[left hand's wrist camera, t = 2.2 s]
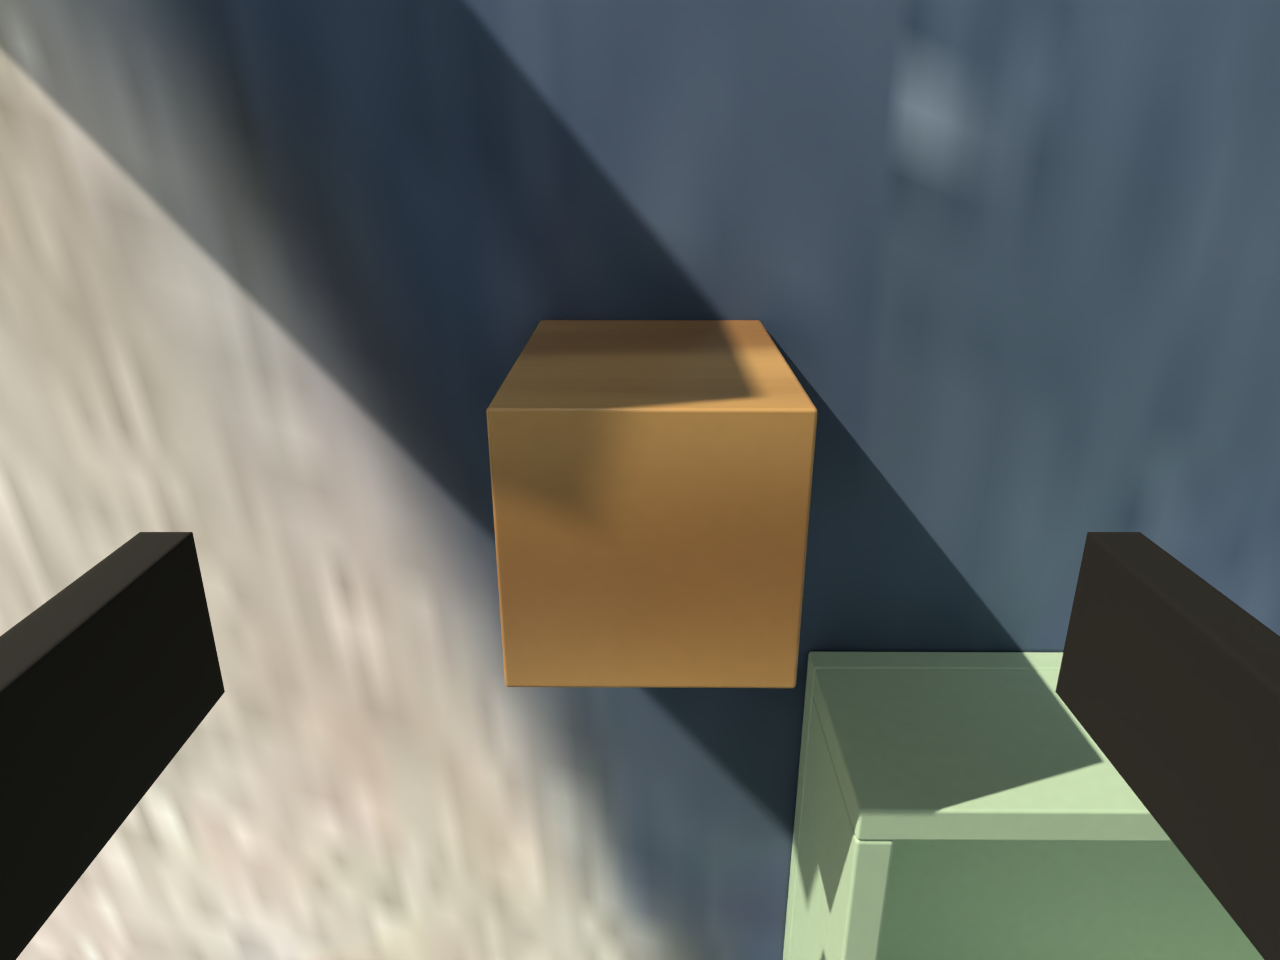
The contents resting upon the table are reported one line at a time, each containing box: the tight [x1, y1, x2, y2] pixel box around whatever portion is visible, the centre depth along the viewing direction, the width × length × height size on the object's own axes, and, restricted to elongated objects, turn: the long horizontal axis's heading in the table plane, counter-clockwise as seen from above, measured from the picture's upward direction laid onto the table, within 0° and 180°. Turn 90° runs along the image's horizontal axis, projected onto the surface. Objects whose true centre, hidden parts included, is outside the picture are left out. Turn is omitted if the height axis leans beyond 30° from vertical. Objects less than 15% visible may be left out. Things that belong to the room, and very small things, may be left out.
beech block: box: [486, 320, 818, 688], centre depth 17 cm, size 5×5×7 cm
